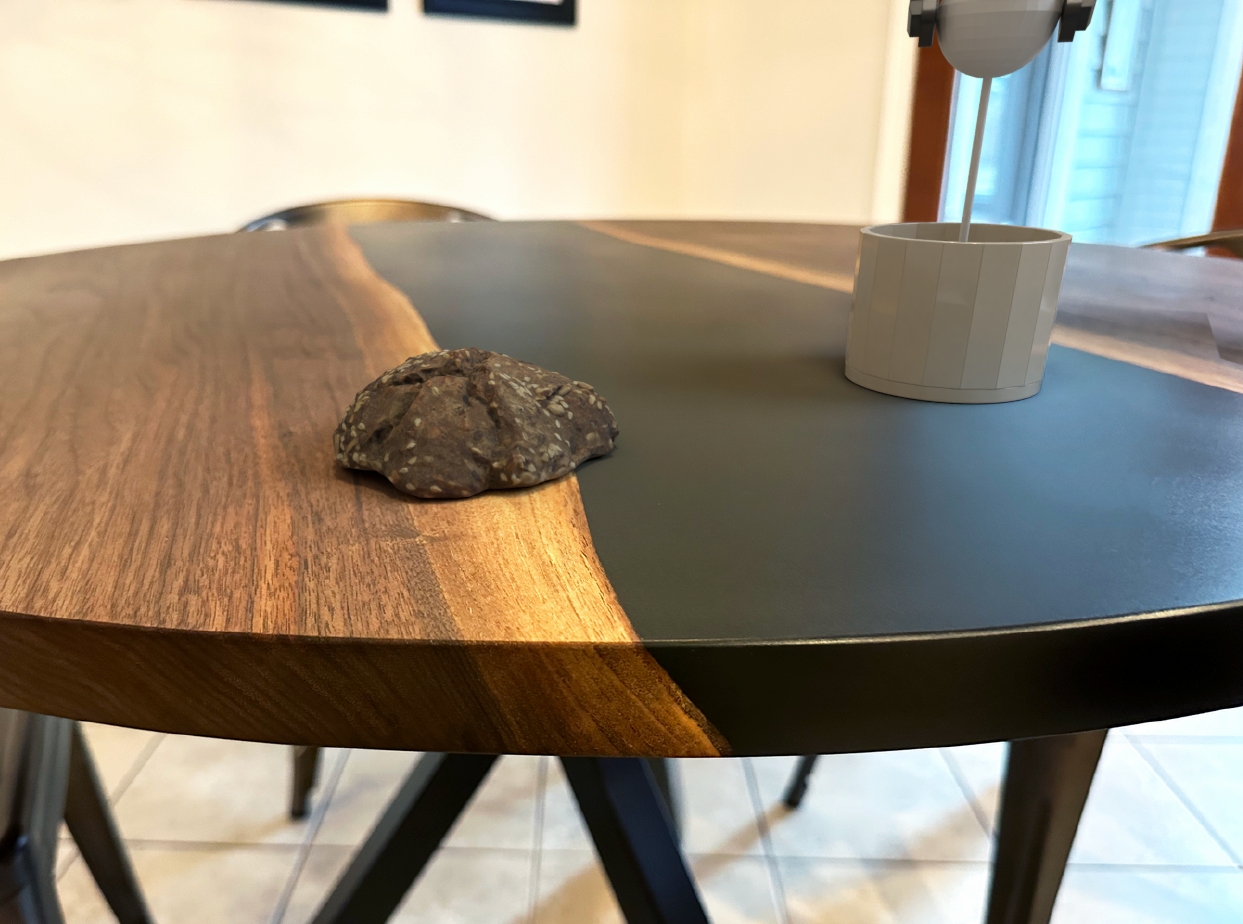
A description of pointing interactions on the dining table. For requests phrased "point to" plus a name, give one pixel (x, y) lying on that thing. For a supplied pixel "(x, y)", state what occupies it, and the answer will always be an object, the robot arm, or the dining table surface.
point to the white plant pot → (954, 310)
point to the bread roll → (472, 424)
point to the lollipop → (991, 53)
